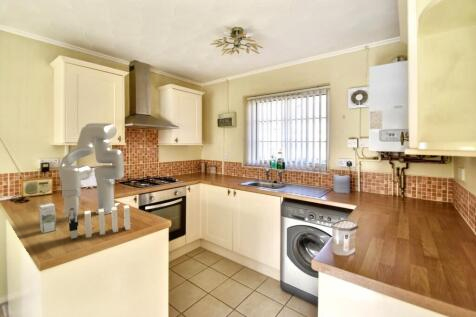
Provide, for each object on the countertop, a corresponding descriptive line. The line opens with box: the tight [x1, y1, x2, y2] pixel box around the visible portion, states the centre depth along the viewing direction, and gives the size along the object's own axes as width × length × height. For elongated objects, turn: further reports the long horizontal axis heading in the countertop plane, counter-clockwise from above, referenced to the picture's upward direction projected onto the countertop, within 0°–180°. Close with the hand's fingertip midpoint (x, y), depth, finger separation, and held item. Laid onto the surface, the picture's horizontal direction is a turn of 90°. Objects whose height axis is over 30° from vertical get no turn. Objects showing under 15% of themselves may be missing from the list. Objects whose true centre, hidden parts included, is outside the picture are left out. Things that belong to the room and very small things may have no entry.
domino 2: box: [98, 209, 106, 236], centre depth 121 cm, size 2×6×12 cm, turn 32°
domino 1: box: [84, 209, 93, 239], centre depth 118 cm, size 2×6×12 cm, turn 32°
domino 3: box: [111, 206, 119, 233], centre depth 124 cm, size 2×6×12 cm, turn 32°
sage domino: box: [70, 215, 79, 240], centre depth 115 cm, size 2×6×12 cm, turn 32°
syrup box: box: [38, 202, 57, 234], centre depth 123 cm, size 6×6×14 cm
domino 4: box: [123, 204, 131, 231], centre depth 127 cm, size 2×6×12 cm, turn 32°
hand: (74, 227), depth 115 cm, fingers closed on sage domino, 5 cm apart
